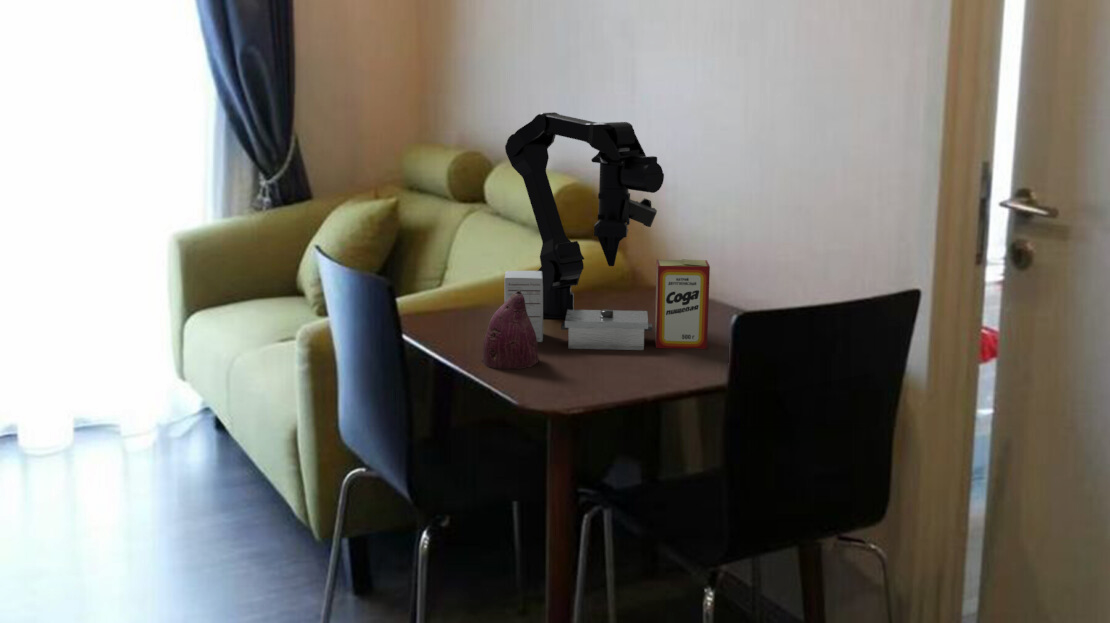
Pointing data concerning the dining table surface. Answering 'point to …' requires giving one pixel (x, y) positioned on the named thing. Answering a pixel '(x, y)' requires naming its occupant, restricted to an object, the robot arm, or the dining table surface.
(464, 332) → the dining table surface
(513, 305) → the vegetable
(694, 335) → the baking soda box
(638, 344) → the white rectangular box
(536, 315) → the supplement box
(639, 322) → the lid
